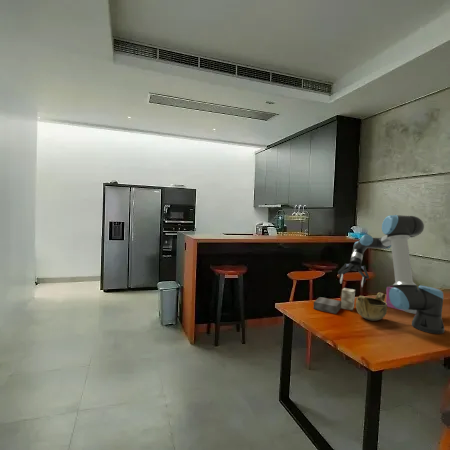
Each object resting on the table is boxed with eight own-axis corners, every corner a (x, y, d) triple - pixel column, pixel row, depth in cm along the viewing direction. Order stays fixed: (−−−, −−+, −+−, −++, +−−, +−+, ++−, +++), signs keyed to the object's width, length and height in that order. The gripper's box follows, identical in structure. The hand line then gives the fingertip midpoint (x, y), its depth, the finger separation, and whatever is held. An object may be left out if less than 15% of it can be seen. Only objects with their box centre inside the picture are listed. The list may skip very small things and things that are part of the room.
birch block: (353, 307, 197) (355, 289, 197) (352, 310, 191) (353, 292, 191) (342, 305, 201) (344, 287, 200) (340, 307, 195) (341, 290, 194)
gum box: (383, 305, 204) (384, 286, 204) (387, 303, 210) (389, 284, 209) (423, 316, 186) (425, 295, 186) (427, 313, 191) (429, 293, 191)
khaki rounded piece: (372, 327, 164) (374, 300, 163) (345, 316, 179) (347, 292, 178) (394, 320, 176) (396, 295, 175) (367, 311, 191) (369, 288, 190)
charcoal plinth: (340, 308, 195) (341, 301, 195) (336, 314, 183) (336, 306, 183) (319, 304, 202) (319, 296, 202) (313, 309, 191) (313, 301, 190)
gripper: (375, 265, 211) (371, 290, 199) (338, 260, 225) (332, 284, 213) (375, 259, 206) (370, 284, 195) (337, 254, 220) (331, 278, 208)
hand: (351, 284), depth 204 cm, fingers open, 13 cm apart
